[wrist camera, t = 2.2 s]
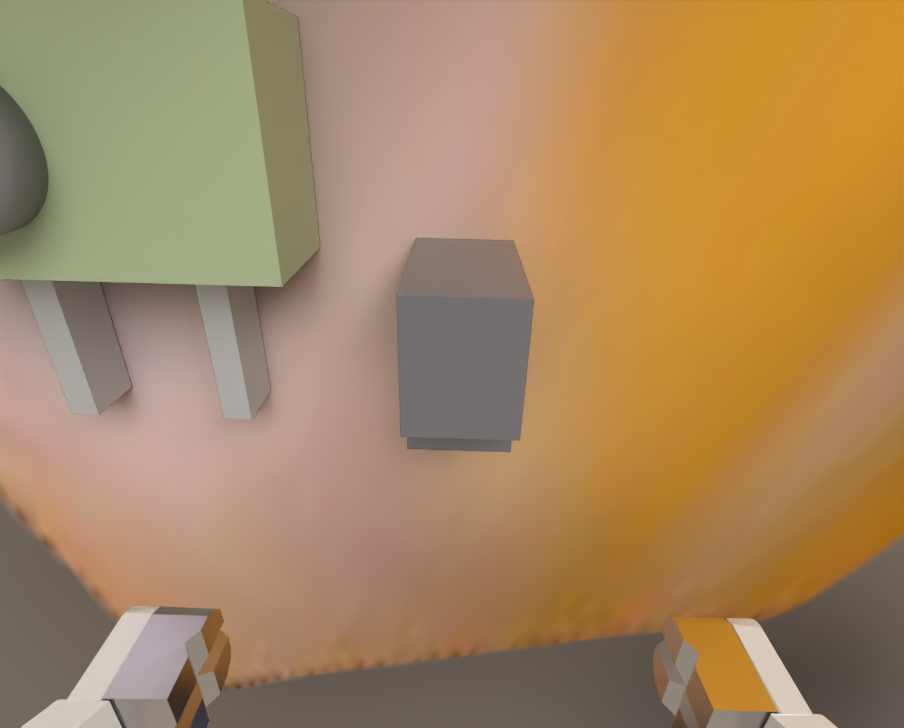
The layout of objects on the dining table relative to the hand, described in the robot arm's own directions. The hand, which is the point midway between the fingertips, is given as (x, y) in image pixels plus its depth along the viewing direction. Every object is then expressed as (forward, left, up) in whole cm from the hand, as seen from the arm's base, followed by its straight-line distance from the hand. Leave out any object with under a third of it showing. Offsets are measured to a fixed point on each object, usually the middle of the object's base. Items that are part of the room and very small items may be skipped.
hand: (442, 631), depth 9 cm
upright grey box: (0, 0, -15) cm, 15 cm away
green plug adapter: (+13, -4, -15) cm, 20 cm away
